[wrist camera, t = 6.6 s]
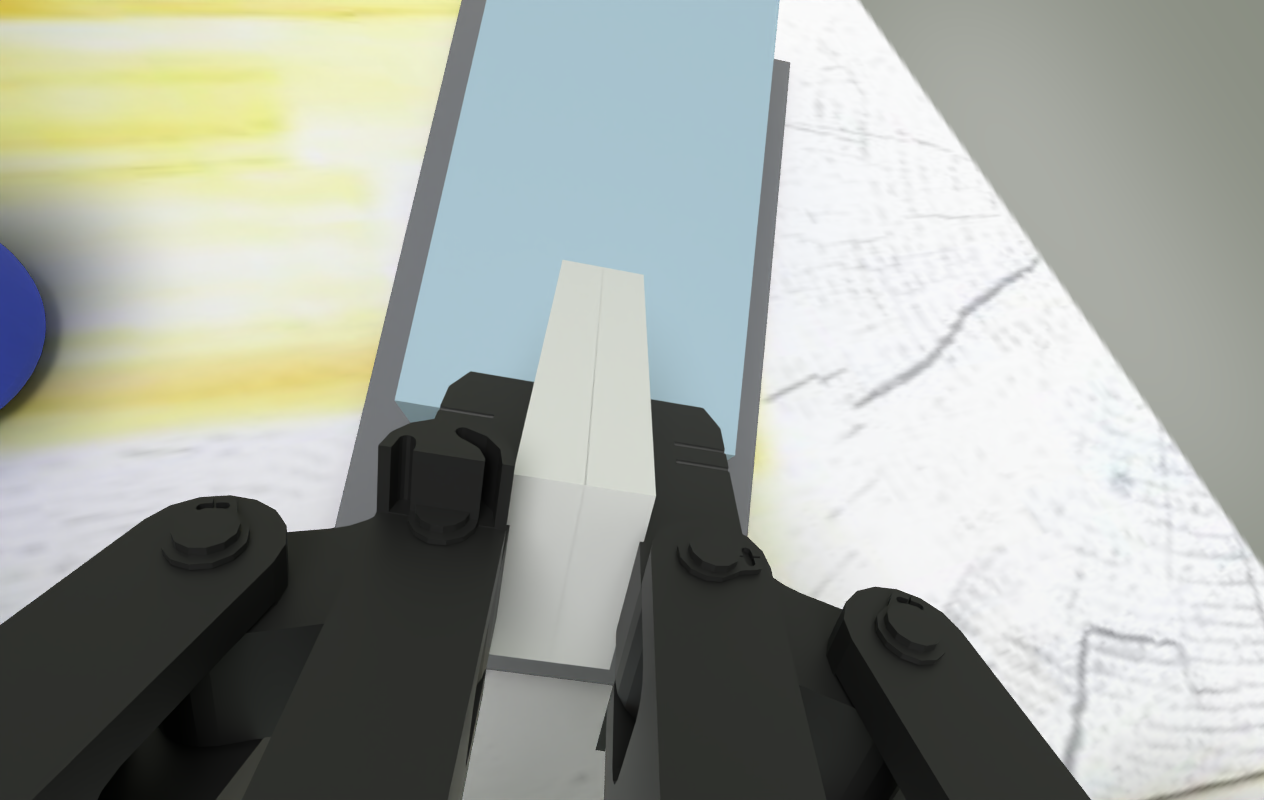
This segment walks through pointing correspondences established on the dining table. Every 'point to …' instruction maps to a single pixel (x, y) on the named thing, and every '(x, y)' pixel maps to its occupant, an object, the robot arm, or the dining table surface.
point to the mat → (380, 398)
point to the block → (602, 190)
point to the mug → (18, 326)
